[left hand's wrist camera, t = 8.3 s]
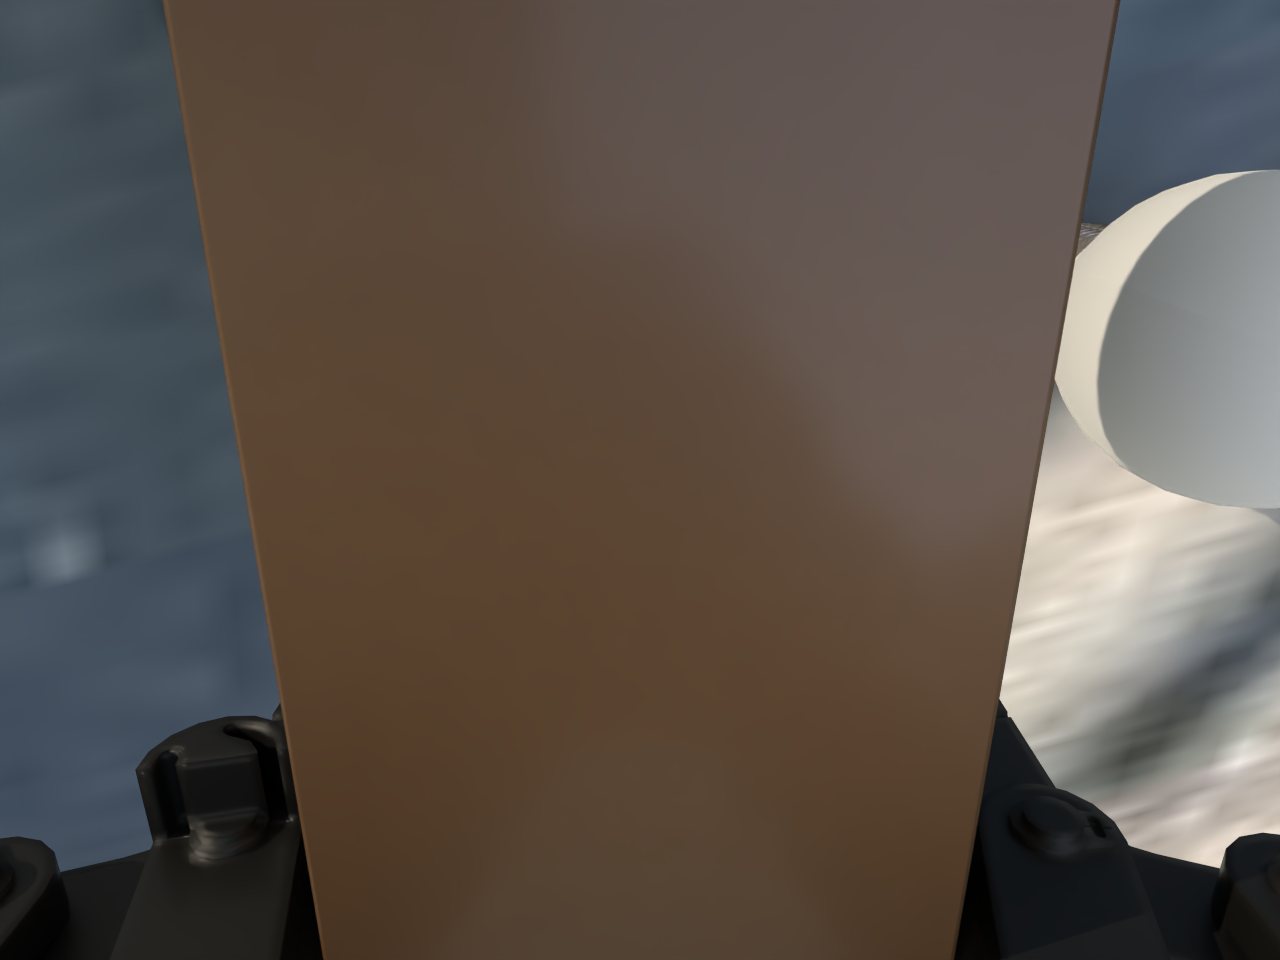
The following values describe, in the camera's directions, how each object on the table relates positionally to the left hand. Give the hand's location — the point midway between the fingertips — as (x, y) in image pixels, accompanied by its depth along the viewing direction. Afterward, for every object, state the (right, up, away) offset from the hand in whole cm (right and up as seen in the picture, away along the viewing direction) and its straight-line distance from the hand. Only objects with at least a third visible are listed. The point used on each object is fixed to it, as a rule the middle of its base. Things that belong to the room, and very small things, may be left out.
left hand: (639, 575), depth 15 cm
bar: (0, +8, -3) cm, 9 cm away
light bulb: (+12, +7, +10) cm, 18 cm away
